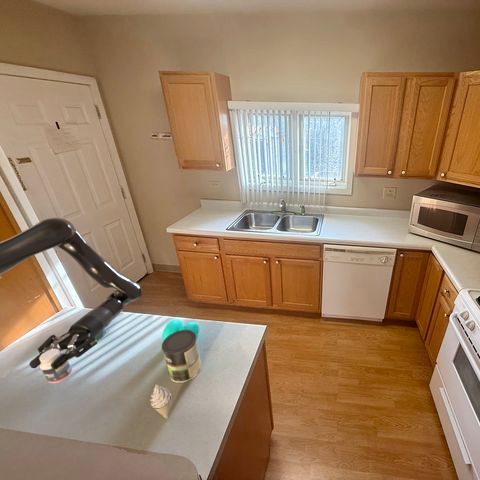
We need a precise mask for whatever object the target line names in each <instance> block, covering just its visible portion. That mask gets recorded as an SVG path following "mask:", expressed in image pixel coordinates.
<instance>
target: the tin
mask: <svg viewBox="0 0 480 480" xmlns="http://www.w3.org/2000/svg"><path fill="white" fill-rule="evenodd" d="M105 335H106V329H104V330H103V331H102V332H101V333H99V334H98V335H97V336H96V337H95V338H96V340H97V342H98V341H100V340H102V339H103V338H104V337H105ZM99 339H100V340H99Z"/></svg>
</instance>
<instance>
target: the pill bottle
mask: <svg viewBox="0 0 480 480" xmlns="http://www.w3.org/2000/svg"><path fill="white" fill-rule="evenodd" d="M58 349H59V348H58ZM58 349H51V350H48V351H46V352H44V353H43V354H42V355H41V356H40V357H39V359H40V362H41V364H40V365H39V368H40V371H41V372H42V373H43V374H42V375H44V377H45V379H46V381H47V382H48V383H49V384H57V383H60V382H62V381H65V380H66V379H67V378H69V377H70V375H71V374H72V372H73V368H72V367H71V365H70V363H69V360H67V361H66V362H65V363H64V364H63V365H62V366H60V367H59V368H58V369H52V367H51V363H53V362H54V361H55V360H56V359H57V358H58V357H59V356H61V355H62V354H63V353H61V352H60V351H59V350H58Z"/></svg>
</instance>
